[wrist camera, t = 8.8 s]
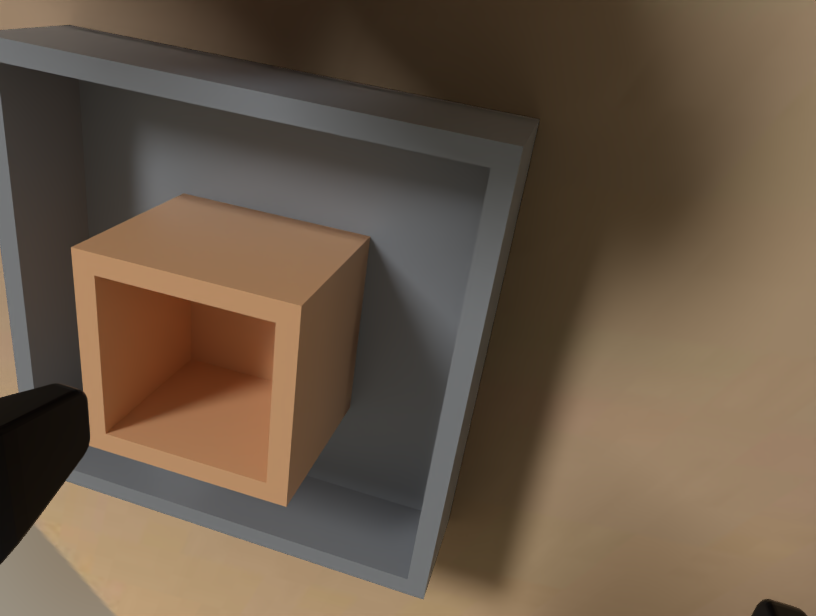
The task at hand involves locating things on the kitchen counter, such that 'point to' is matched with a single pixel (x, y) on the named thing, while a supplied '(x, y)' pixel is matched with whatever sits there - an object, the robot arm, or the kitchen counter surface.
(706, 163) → the kitchen counter surface
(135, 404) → the small crate
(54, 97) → the grey square tray
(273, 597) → the kitchen counter surface
